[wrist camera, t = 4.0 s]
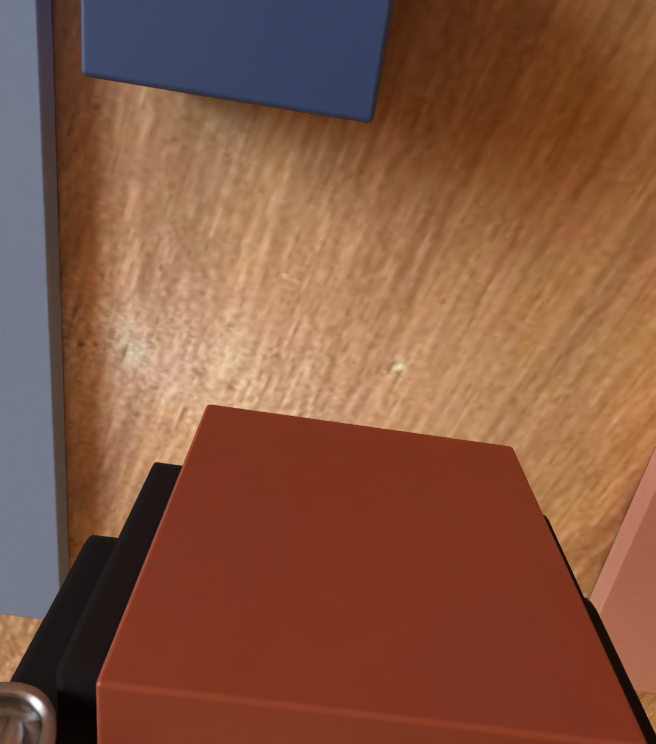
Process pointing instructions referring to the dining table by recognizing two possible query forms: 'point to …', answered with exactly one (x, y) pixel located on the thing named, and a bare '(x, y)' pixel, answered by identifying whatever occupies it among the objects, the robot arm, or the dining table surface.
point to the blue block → (244, 50)
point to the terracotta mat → (633, 587)
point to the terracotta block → (354, 600)
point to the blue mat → (30, 320)
